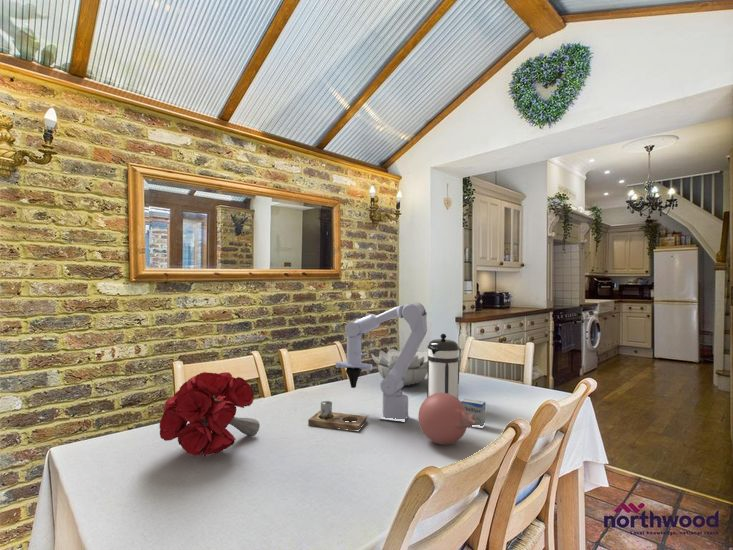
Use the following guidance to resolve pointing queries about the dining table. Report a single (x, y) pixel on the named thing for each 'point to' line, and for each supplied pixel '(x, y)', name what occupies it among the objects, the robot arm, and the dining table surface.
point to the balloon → (444, 418)
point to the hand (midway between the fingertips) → (353, 387)
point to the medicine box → (475, 410)
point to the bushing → (326, 410)
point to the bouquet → (207, 413)
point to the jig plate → (338, 421)
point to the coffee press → (443, 367)
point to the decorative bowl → (414, 371)
